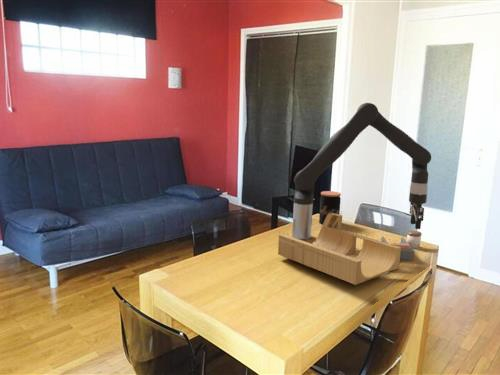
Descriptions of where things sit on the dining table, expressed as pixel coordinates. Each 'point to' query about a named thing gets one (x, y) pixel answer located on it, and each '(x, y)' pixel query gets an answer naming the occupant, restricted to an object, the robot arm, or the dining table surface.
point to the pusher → (402, 246)
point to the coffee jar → (329, 204)
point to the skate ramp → (342, 252)
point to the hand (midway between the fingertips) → (415, 226)
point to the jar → (414, 239)
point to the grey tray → (404, 251)
